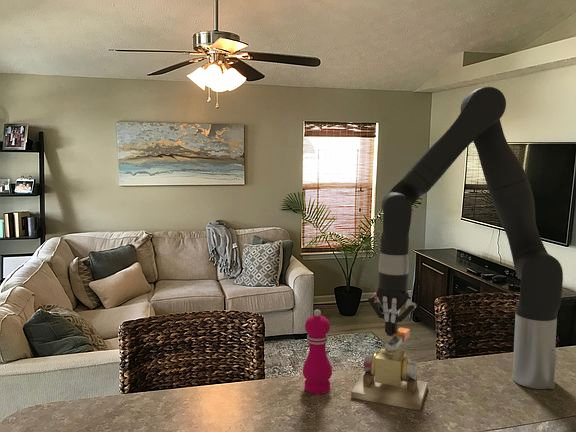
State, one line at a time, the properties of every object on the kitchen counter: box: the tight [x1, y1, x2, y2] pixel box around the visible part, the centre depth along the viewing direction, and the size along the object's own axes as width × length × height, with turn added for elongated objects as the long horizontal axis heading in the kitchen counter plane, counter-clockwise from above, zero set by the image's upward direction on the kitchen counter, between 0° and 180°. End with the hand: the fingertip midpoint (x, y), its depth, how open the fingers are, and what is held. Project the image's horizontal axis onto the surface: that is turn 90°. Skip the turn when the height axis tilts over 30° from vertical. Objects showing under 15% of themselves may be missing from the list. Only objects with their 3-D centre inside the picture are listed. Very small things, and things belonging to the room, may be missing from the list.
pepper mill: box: [302, 309, 333, 395], centre depth 122 cm, size 7×7×20 cm
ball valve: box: [363, 347, 418, 386], centre depth 120 cm, size 12×6×7 cm, turn 67°
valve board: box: [350, 371, 428, 411], centre depth 120 cm, size 16×12×4 cm
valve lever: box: [384, 327, 411, 353], centre depth 124 cm, size 3×14×2 cm, turn 152°
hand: (390, 335), depth 130 cm, fingers closed
